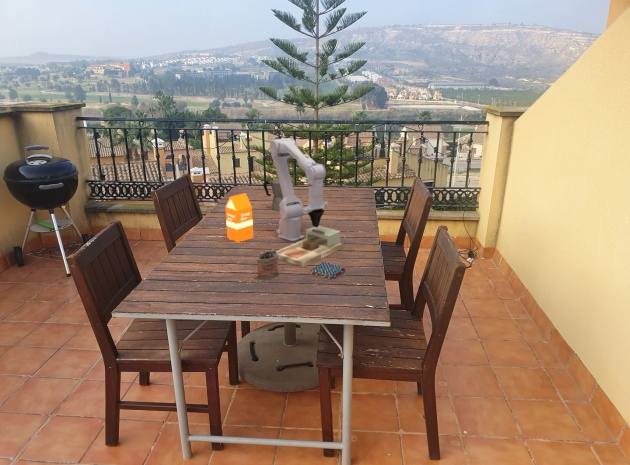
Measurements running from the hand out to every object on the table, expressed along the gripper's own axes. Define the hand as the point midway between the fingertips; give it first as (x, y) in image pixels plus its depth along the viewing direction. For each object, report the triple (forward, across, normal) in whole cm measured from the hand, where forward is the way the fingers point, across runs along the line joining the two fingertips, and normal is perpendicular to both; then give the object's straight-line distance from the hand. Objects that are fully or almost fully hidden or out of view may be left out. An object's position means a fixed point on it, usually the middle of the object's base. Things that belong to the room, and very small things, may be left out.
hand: (315, 226), depth 191 cm
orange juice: (+10, -10, +35) cm, 38 cm away
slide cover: (+8, +5, 0) cm, 9 cm away
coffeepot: (+11, +34, +53) cm, 64 cm away
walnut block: (+10, -4, 0) cm, 11 cm away
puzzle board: (+10, -4, 0) cm, 11 cm away
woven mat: (+11, -15, -18) cm, 26 cm away
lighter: (+10, -32, -3) cm, 33 cm away
